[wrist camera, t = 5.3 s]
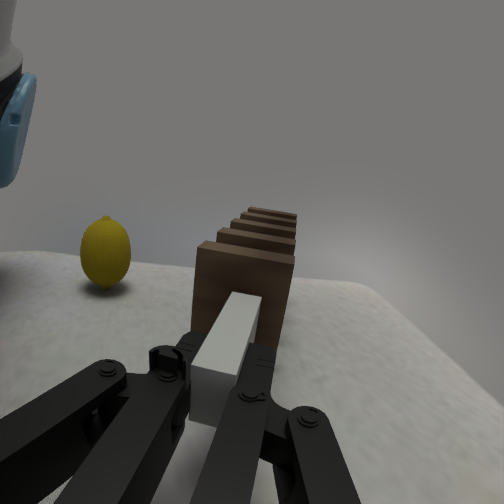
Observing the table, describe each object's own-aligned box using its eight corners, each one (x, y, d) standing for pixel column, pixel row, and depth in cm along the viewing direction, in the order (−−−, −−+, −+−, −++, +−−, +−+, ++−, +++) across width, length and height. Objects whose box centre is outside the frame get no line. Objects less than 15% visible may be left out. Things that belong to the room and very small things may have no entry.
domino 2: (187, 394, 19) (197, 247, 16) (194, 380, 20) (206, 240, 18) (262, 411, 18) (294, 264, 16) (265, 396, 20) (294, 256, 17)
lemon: (85, 278, 33) (85, 209, 31) (131, 280, 35) (133, 212, 33) (77, 299, 28) (75, 220, 26) (129, 301, 30) (131, 222, 28)
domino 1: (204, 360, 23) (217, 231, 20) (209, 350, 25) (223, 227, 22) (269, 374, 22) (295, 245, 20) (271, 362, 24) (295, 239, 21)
